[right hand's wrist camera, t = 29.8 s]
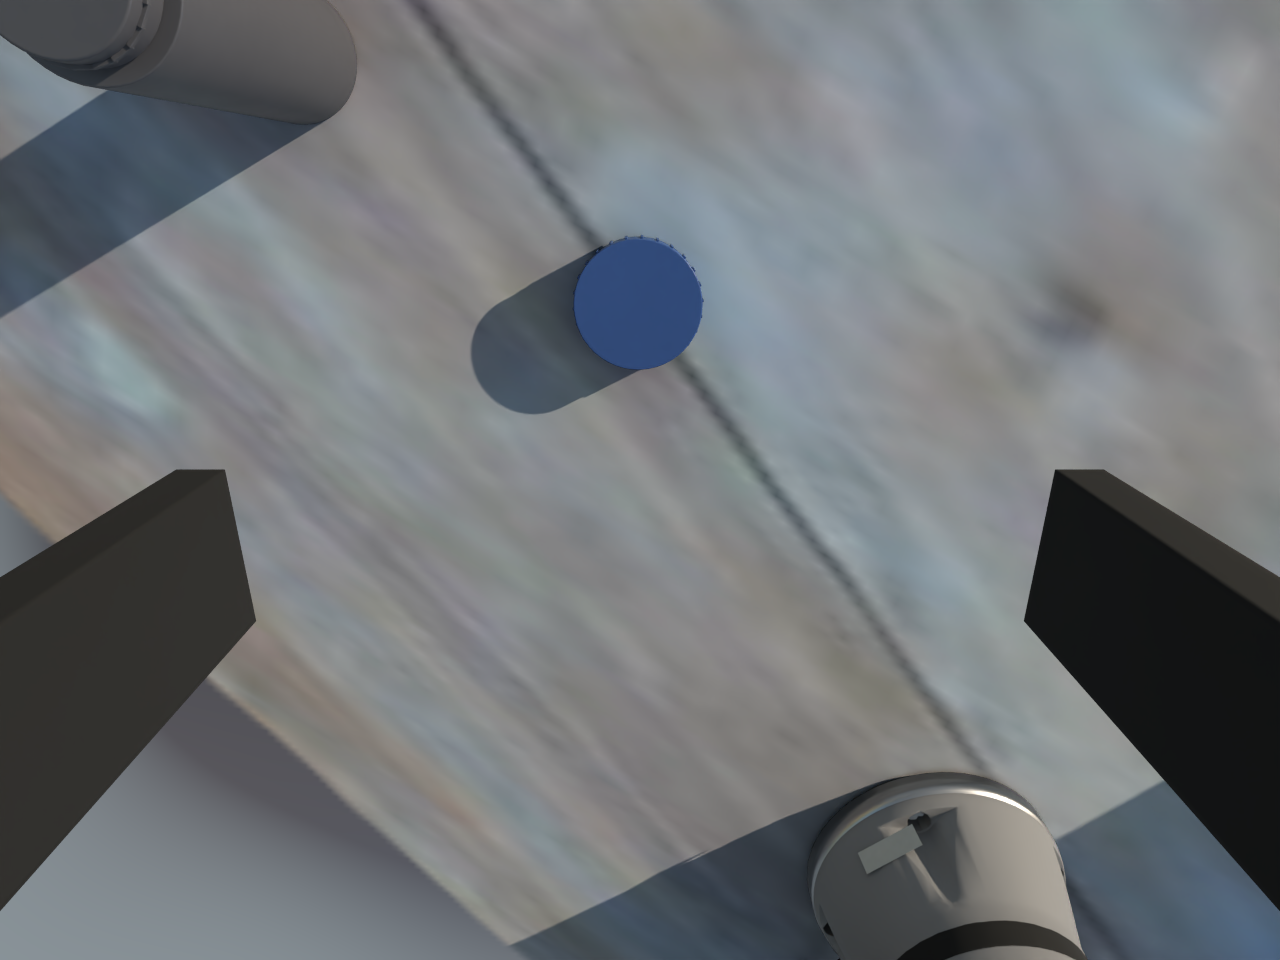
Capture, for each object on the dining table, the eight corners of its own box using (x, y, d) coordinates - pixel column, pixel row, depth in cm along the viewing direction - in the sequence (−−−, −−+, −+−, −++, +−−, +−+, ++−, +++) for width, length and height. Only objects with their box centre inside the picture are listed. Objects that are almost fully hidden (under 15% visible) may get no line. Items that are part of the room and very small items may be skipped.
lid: (670, 212, 35) (672, 213, 33) (720, 333, 37) (723, 339, 35) (553, 268, 36) (549, 272, 34) (607, 383, 38) (606, 391, 36)
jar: (346, -18, 32) (118, -177, 18) (366, 123, 34) (173, 78, 20) (219, -14, 32) (-107, -170, 18) (245, 126, 34) (-31, 84, 20)
